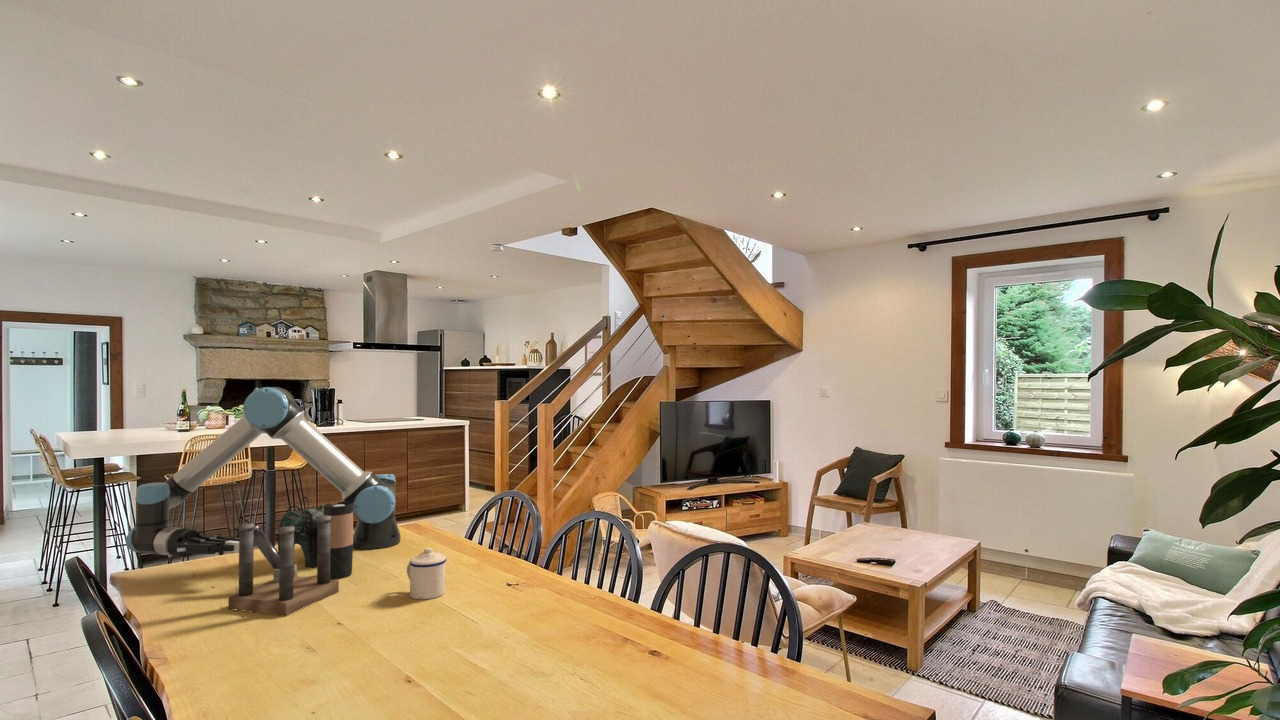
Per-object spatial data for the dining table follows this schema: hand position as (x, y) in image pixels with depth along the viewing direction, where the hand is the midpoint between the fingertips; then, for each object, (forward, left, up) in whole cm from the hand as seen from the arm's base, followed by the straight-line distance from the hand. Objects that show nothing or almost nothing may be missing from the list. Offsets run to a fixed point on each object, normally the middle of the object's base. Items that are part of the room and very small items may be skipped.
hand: (246, 547), depth 170 cm
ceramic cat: (-13, -16, -10) cm, 23 cm away
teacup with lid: (-40, +30, -10) cm, 51 cm away
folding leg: (-9, +10, -5) cm, 15 cm away
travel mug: (-22, +3, -10) cm, 25 cm away
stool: (-9, +18, -10) cm, 23 cm away
